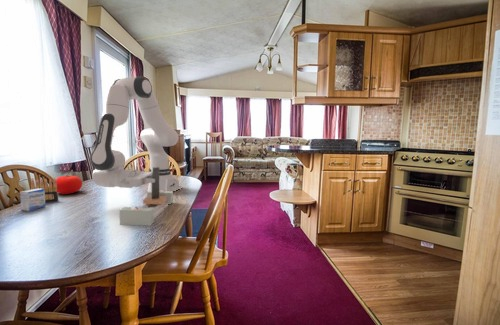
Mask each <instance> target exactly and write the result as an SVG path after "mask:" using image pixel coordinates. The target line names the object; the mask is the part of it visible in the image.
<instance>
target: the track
mask: <svg viewBox="0 0 500 325" xmlns="http://www.w3.org/2000/svg"><path fill="white" fill-rule="evenodd" d="M146 194H147V197H148V196H152V191H149V192H147V193H146ZM159 196H167V201H166V202H165V203H163V204H143V206H132V207H130V206H129V207H127V206H124V207H122V208H121V209H119V225H121V226H151V225H152V224H154V222H155V219H157V217H158V216H159V215H160V214H161V213H162V212H164V210H165V209H166V208H167V207H168V206H169V205H168V204H171V203H172V202H173V203H174V192H171V191H159ZM147 197H146V198H147ZM173 203H172V204H173ZM172 204H171V205H172ZM166 206H167V207H166ZM165 207H166V208H165ZM164 208H165V209H164Z"/></svg>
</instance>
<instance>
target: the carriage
mask: <svg viewBox="0 0 500 325" xmlns="http://www.w3.org/2000/svg"><path fill="white" fill-rule="evenodd" d="M152 178H153V179H156V182H154V183H152V196H148V197H146V198H144V199H142V203H143V205H146V204H163V203H165V202H166V201H167V196H159V167H152V168H151V179H152Z"/></svg>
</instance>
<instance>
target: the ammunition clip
mask: <svg viewBox="0 0 500 325" xmlns="http://www.w3.org/2000/svg"><path fill="white" fill-rule="evenodd" d="M56 179H57V178H55V177H54V178H53V180H52V179H51V178H50V177H49V181H48V180H47V178H45V179H44V181H43V179H42V178H40V181H39V179H38V178H36V180H34V179H33V178H32V179H31V180H30V181H31V183H30V184H31V185H30V190H32V189H37V188H41V189H44V190H45V203H52V202H53V203H54V202H59V193H58V192H57V184H56Z"/></svg>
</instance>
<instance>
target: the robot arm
mask: <svg viewBox="0 0 500 325" xmlns="http://www.w3.org/2000/svg"><path fill="white" fill-rule="evenodd" d="M104 98H105V99H104V103H103V104H104V105H103V111H102V115H101V118H100V120H99V124H98V128H97V132H96V133H97V134H96V139H95V142H94V143H95V144H94V146H93V149H92V151H91V153H90V156H89V162H90V164H91V167H93V169H94V170H93V171H92V172H91V179H92V181H93V183H94V184H95V185H96V186H99V187H103V188H116V187H117V188H122V189H124V188H125V189H126V188H129V189H132V188H138V187H142V186H143V185H146V184H148V185H147V192H149V191H152V183H154V182H156V179H153V178H152V179H151V168H152V167H159V191H171V192H173V191H175V192H177V191H176V190H178V189H180V190H182V189H181V188H183V189H184V187H183V186H181V185H180V181H179V179H178V178H177V177H175V176H174V175H173V174H172V173H173V172H174V171H175V170H174V168H170V166H169V165H170V163H169V162H170V161H169V159H170V158H169V157H170V156H169V155H168V154H167V152H166V151H165V150H164V148H163V147H166V148H167V147H172V146H175V145H177V144H178V142H179V134H178V132H177V131H176V130H175V129H174V128H173V127H171V126H170V125H169V124H168V122H167V121H166V119H165V118H164V116H163V113H162V110H161V107H160V105H159V102H158V99H157V97H156V94H155V92H154V90H153V86H152V83H151V81H150V80H149V78H147V77H144V76H127V77H125V78H119V79H115V80H114V81H112V82H111V84H110V86H108V88H107V91H106V93H105V96H104ZM130 100H136V104H137V107H138V109H139V110H138V111H139V113H140V115H141V118H142V121H143V122H144V123H145V124H146V125H147V126H149V127H147V128H145V129H142V131H141V132H140V136H139V137H140V141H141V142H142V143H143V144H144V145H145V148H146V149H147V152H148V156H149V169H148V171H144V170H139V169H124V168H125V164H126V157H125V155H124V153H123V152H121V151H119V150H114V149H112V142H113V136H114V132H115V131H116V128H118V127H121V126H122V125H124V124H126V123H127V122H128V119H129V114H130ZM178 191H179V190H178ZM173 193H174V192H173Z"/></svg>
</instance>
